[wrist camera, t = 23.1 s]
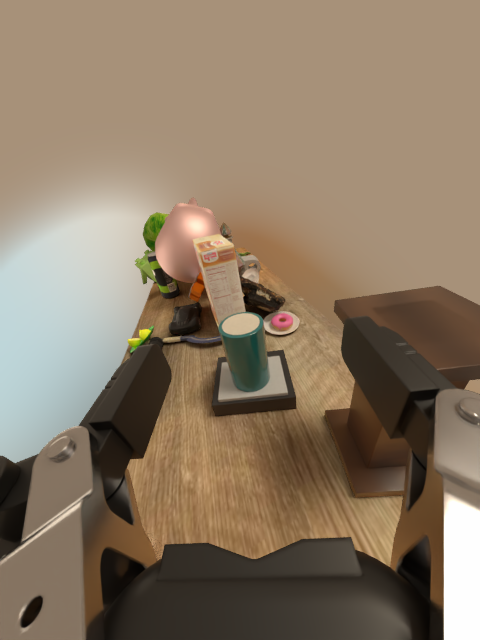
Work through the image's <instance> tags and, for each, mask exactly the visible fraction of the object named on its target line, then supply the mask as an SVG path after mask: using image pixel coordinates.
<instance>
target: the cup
mask: <svg viewBox="0 0 480 640" xmlns="http://www.w3.org/2000/svg"><path fill="white" fill-rule="evenodd" d="M218 329H219V333H220V337H221V341H222V345H223V348H224V352H225V356H226V359H227V363H228V367H229V371H230V374H231V378H232V382H233V384H234V386H235V387H236V388H238V389H239V390H241V391H244V392H254V391H258V390H260V389H262V388H263V387H265V386H266V385H267V383H268V382H269V380H270V369H269V361H268V353H267V345H266V337H265V328H264V321H263V318H262V317H261V316H260V315H258V314H256V313H252V312H240V313H235V314H232V315H230V316H228V317H226V318H225V319H223V320H222V321H221V323H220V324H219V327H218Z"/></svg>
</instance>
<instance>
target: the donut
mask: <svg viewBox="0 0 480 640" xmlns="http://www.w3.org/2000/svg"><path fill="white" fill-rule="evenodd" d="M263 321H264V328H265V330H266V331H268V332H269V333H272V334H276V335H283V334H288V333H291V332H293V331H295V330H296V329H297V328H298V326H299V323H300V322H299V319H298V317H297V316H296V315H294V314H293V313H290V312H285V311H279V312H278V311H277V312H274V313H271V314H269V315H268V316H266V317H265V318H264V320H263Z"/></svg>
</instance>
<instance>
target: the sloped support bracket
mask: <svg viewBox="0 0 480 640" xmlns="http://www.w3.org/2000/svg"><path fill="white" fill-rule="evenodd" d="M242 259H243V260H244V261H245V263H244V265H243V267H242V268H241V270H240V272H239V276H242V275H243V274H244V272H245V271H246V270H247V269H250V268H252V267H253V268H257V271H258V272H259V271H260V268H261V266H260V263H259V261H258V259H257V258H256V257H255V256H253V255H248V256H242ZM251 263H255V265H254V266H252V267H249V265H250V264H251Z"/></svg>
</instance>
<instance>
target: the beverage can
mask: <svg viewBox="0 0 480 640" xmlns="http://www.w3.org/2000/svg"><path fill="white" fill-rule="evenodd" d="M147 256H148V261H149V264H150V266H151V269H152V271H153V274H154V276H155V279H156V281H157V284H158V286H159V289H160V291H161V294H162V296H163V297H165V298H173V297H175V296H177V295H178V294H179V292H180V290H179V287H178V284H177V281H176V279H174V278H172V277H171V276H169V275H168V274H167V273H166V272H165V271H164V270H163V269H162V267H161V266H160V264H159V263H158V260H157V258H156V253H155V252H152V253H149V254H148V255H147Z"/></svg>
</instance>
